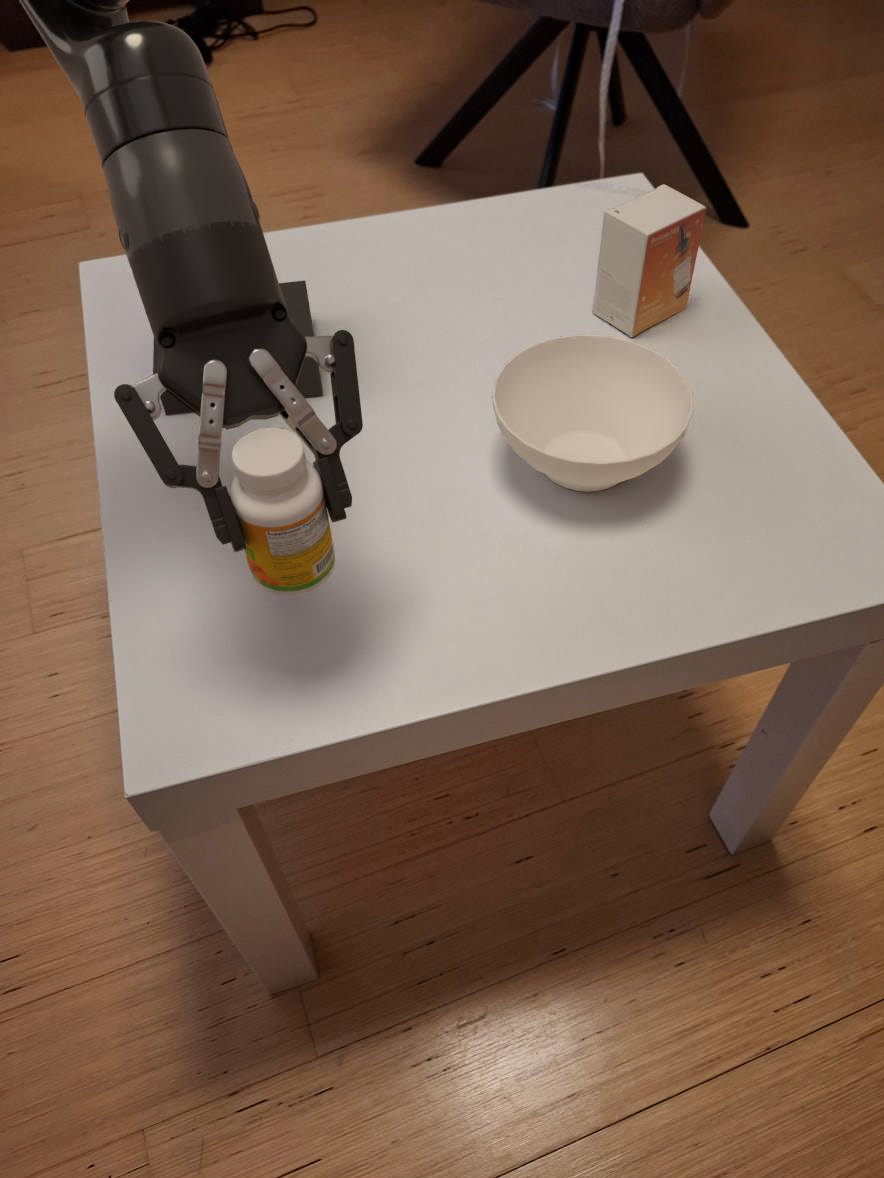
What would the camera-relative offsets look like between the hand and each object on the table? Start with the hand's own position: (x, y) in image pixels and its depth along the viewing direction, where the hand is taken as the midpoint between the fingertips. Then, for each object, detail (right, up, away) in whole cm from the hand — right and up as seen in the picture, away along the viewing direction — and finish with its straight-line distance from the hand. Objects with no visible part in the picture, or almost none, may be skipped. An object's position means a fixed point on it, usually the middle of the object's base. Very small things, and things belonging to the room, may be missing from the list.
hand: (289, 534), depth 55 cm
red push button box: (-11, +19, +33) cm, 40 cm away
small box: (+27, +26, +38) cm, 54 cm away
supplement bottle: (-1, -2, +5) cm, 5 cm away
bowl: (+20, +9, +25) cm, 33 cm away
